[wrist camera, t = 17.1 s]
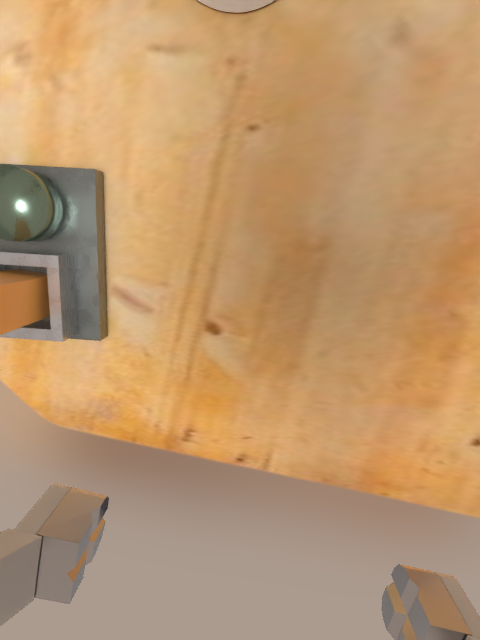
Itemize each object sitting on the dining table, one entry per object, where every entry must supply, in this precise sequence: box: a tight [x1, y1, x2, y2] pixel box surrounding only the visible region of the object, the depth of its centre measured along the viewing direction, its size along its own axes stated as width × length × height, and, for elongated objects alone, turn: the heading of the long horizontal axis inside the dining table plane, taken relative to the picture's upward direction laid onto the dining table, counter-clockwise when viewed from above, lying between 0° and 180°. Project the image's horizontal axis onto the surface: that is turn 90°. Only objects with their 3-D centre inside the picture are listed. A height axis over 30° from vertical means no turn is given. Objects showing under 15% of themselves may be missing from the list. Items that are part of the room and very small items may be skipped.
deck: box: [0, 164, 108, 342], centre depth 37 cm, size 18×14×5 cm
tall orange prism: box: [0, 269, 50, 335], centre depth 34 cm, size 4×4×10 cm
